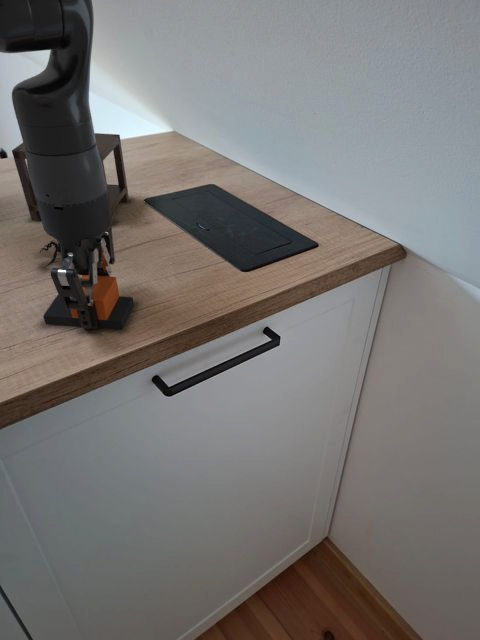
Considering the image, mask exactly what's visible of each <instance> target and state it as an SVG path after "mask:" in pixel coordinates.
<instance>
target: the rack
mask: <svg viewBox="0 0 480 640" xmlns="http://www.w3.org/2000/svg"><path fill="white" fill-rule="evenodd" d="M94 133H95V139H96V145H97V149H98V152H99V155H100V158H101V162H102V166H103V171H104V177H105V182H106V188H107V194H108V200H109V205H110V211H111V217H112V225H111V227H113V225H114V217H113V212H114V211H115V210H116V208H117V206H118V205H119V204H120V203H126V204H127V203H129V201H130V197H129V191H128V184H127V177H126V176H127V175H126V169H125V161H124V155H123V150H122V149H123V148H122V143H121V135H120V134H119V133H117V134H116V133H99V132H94ZM112 152H113V158H114V163H115V171H116V178H117V183H118V184H111V183H110V184H108V181H107V176H106V175H107V174H106V171H105V170H106V169H105V165H104V160H105V159H106V158H107V157H108V156H109V155H110V154H111V153H112ZM11 154H12V157H13V160H14V163H15V164H14V165H15V167H16V170H17V174H18V178H19V181H20V186H21V188H22V191H23V195H24V199H25V201H26V206H27V209H28V212H29V216H30V219H31V222H40V220H41V217H40V213H39V209H38V206H37V202H36V198H35V195H34V191H33V187H32V184H31V180H30V176H29V172H28V167H27V159H26V152H25V148H24V144H23V142H21V143H20V144H19V145H18V146H16V147H15V148H13V149H11Z"/></svg>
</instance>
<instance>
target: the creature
mask: <svg viewBox="0 0 480 640" xmlns="http://www.w3.org/2000/svg"><path fill="white" fill-rule="evenodd" d="M60 245H61V244H60V243H59V242H58V241H57V240H54V239H53V240H50V241H49V242H48V243H47V244H45V245H44V246H43V247H42V248H40V251H39V254H41V253H42V252H43V251H45V252H48V251H49V248H50V249H51V248H53V247H54V248H55V250H54V252H53V257H52V259H51V260H50V262H49V263H48V264H46V265H45V266H42V269H45V268H47V267H48V266H50V265H52V264H54V263H58V260H56V259H57V256H58V253H61V246H60ZM45 247H46V248H45Z"/></svg>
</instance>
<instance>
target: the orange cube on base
mask: <svg viewBox="0 0 480 640" xmlns="http://www.w3.org/2000/svg"><path fill="white" fill-rule="evenodd" d="M80 279H89V275H87V276H85V275H81V276H80ZM82 288H83V290H84V293H85V296H86V288H85V287H82ZM94 302H95V306H96V311H97V315H98V320H99V326H98V328H97V329H103V330H105V329H106V330H118V331H119V330H121V331H122V330H124V328H125V326H126V323H127V322H128V319H129V317H130V315H131V313H132V311H133V309H134V307H135V302H134V297H133V296H120V292H119V286H118V280H117V277H116V276H110V277H108V276H97V285H96V286H94ZM42 317H43V320H44V323H45V325H46V326H47V325H48V326H49V325H50V326H63V327H76V328H82V327H81V326H80V322H79V318H78V314H77V310H73V309H70V310H68V309H64V306H63V304H62V302H61V299H60V297H59V294H58V293H57V295H56V297H55V298H54V300H53V301H52V303H51V304H50V305H49V307H48V308H47V309H46V311H45V312H44V314H43V316H42Z"/></svg>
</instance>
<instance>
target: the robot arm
mask: <svg viewBox="0 0 480 640" xmlns="http://www.w3.org/2000/svg"><path fill="white" fill-rule="evenodd" d="M93 5H94V4H93V0H0V53H2V54H22V53H31V52H41V51H49V57H48V60H47V64H46V66H45V68H44V69H43V70H42V71H41V72H40V73H38V74H36V75H34V76H31V77H28V78H26V79H23V80H22V81H20V82H19V83H17V84H15V85H14V87H13V88H12V91H11V102H12V107H13V111H14V114H15V118H16V120H17V121H16V122H17V126H18V128H19V132H20V136H21V140H22V143H23V144H24V148H25V152H26V159H25V160H26V165H27V168H28V172H29V176H30V180H31V184H32V187H33V191H34V195H35V198H36V202H37V206H38V209H39V213H40V217H41V219H40V220H41V224H42V228H43V230H44V232H45V233H46V234H47V235H48V236H50V237H51V238H53V240H54V239H55V241H56V242H57V241H58V242H59V243H60V244H61V245H60V246H61V252H60V258H61V261H62V262H61V265H60V266H59V267H52V268H51V269H50V277H51V281H52V282H53V285H54V288H55V290H56V292H57V295H58V294H59V297H60V299H61V302H62V304H63V306H64V309H68V310H70V309H73V310H77V314H78V318H79V322H80V326H81V327H80V328H82V329H85V330H97V329H99V328H98V326H99V320H98V315H97V311H96V306H95V302H94V286H96V285H97V276H108V277H111V275H112V272H113V270H112V267H111V265H114V264H115V262H116V258H115V250H114V249H115V247H114V238H113V229H112V226H113V225H112V217H111V211H110V205H109V200H108V194H107V188H106V182H105V177H104V171H103V166H102V162H101V158H100V155H99V152H98V149H97V145H96V139H95V133H96V132H95V129H94V128H95V127H94V122H93V117H92V112H91V106H90V85H91V83H90V82H91V63H92V51H93V41H94V26H95V25H94V24H95V15H94V6H93ZM111 225H112V226H111ZM58 242H57V243H58ZM82 275H85V276H87V275H89V279H81V276H82ZM82 287H85V288H86V296H85V293H84V290H83V288H82Z"/></svg>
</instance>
